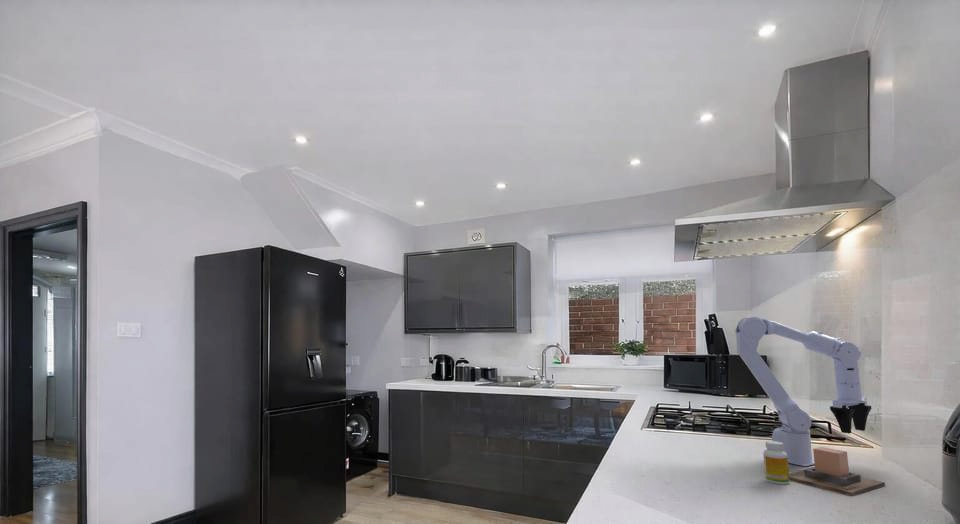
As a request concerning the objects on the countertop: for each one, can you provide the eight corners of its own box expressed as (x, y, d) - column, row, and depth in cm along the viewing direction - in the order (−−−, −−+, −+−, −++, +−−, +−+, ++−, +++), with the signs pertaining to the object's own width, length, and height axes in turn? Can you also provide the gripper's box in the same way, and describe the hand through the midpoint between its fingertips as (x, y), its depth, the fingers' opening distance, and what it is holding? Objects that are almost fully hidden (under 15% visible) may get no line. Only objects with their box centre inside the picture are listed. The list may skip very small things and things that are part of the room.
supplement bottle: (793, 485, 123) (790, 445, 124) (769, 484, 124) (766, 444, 125) (784, 479, 128) (781, 440, 129) (762, 478, 129) (759, 439, 130)
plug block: (815, 476, 127) (813, 448, 128) (824, 474, 129) (821, 446, 130) (841, 483, 122) (838, 453, 123) (849, 480, 124) (846, 451, 125)
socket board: (782, 478, 129) (781, 468, 129) (816, 469, 136) (815, 460, 137) (852, 496, 115) (850, 485, 115) (885, 485, 122) (884, 475, 123)
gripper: (850, 386, 136) (855, 436, 135) (876, 383, 143) (882, 431, 141) (822, 383, 143) (827, 432, 141) (849, 381, 149) (854, 427, 147)
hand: (853, 431), depth 141 cm, fingers open, 7 cm apart
